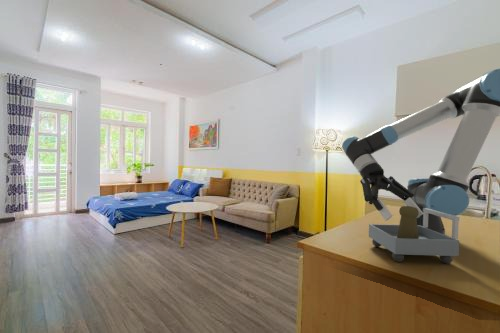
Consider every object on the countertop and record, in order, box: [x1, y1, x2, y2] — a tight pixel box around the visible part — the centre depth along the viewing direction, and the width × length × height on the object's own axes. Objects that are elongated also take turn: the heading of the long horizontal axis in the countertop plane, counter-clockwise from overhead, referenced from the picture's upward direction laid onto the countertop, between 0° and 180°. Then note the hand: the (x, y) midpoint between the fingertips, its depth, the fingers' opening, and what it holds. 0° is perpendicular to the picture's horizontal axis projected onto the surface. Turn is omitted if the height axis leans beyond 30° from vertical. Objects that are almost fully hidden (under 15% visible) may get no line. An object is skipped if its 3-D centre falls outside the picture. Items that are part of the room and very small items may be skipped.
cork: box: [397, 205, 419, 239], centre depth 75 cm, size 6×6×11 cm
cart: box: [368, 208, 460, 264], centre depth 75 cm, size 19×16×14 cm
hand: (404, 217), depth 75 cm, fingers open, 13 cm apart
